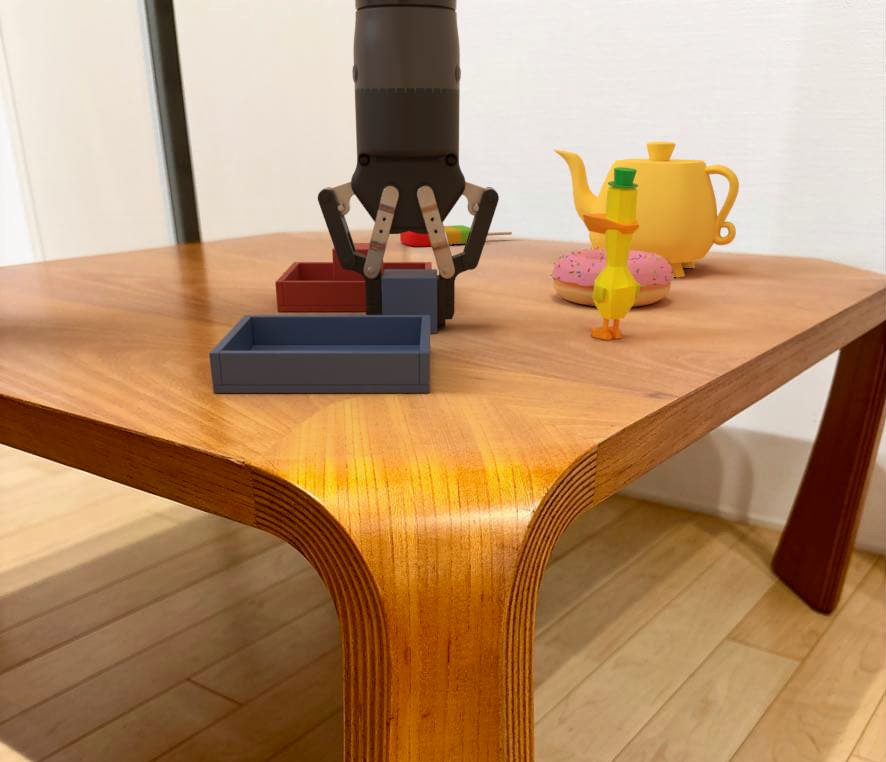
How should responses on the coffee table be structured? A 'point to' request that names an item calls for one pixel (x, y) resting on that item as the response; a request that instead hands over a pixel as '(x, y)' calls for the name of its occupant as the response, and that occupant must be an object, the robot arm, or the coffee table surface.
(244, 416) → the coffee table surface
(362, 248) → the red block
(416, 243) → the popsicle
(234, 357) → the blue tray
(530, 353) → the coffee table surface
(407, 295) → the blue block
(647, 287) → the doughnut
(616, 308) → the toy figure
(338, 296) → the red tray
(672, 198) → the teapot
